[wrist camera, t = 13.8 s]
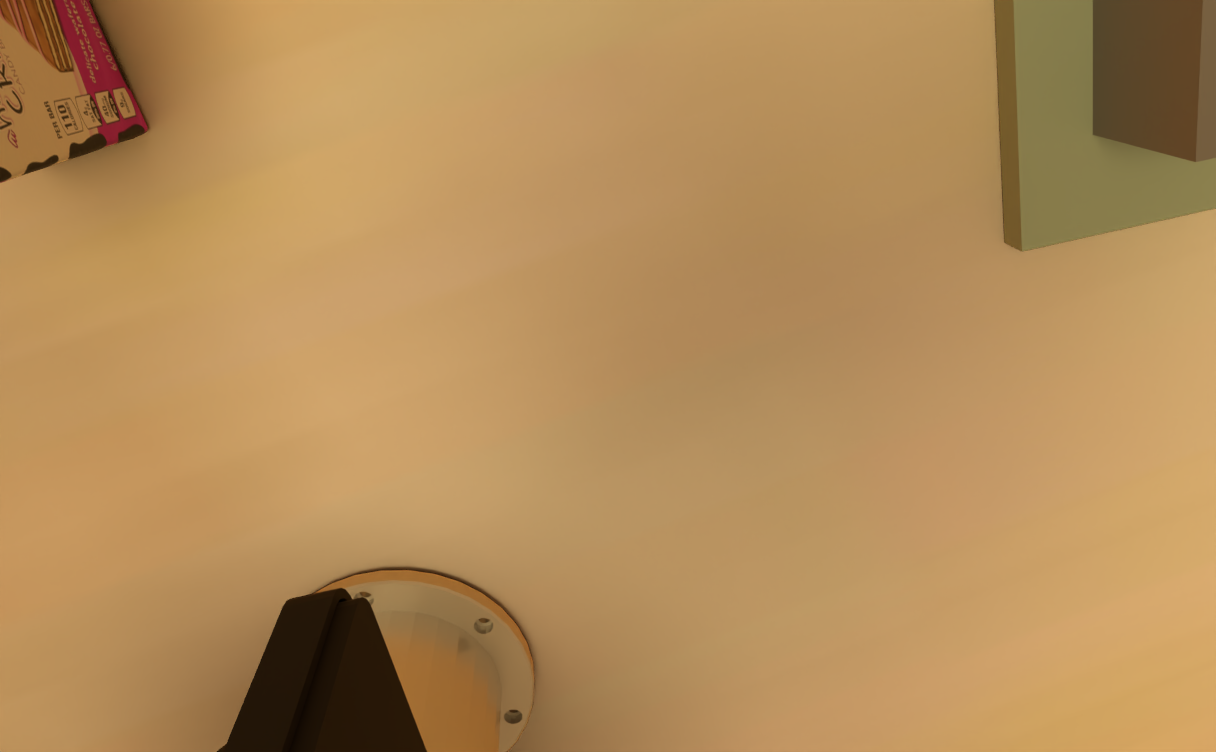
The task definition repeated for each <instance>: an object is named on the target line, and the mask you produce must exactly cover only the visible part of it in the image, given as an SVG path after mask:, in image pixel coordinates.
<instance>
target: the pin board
mask: <svg viewBox="0 0 1216 752" xmlns="http://www.w3.org/2000/svg"><path fill="white" fill-rule="evenodd" d="M994 1H995V25H996V49H997V74H998V98H999V122H1000V146H1001V171H1002V195H1003V219H1004V242H1005V243H1007V244H1009V245H1011V246H1012V247H1014V248H1016V249H1018V250H1020V251H1022V252H1023V251H1027V250H1032V249H1036V248H1041V247H1045V246H1050V245H1054V244H1059V243H1063V242H1068V241H1072V240H1077V239H1081V238H1086V237H1090V236H1095V235H1099V234H1104V233H1108V232H1113V231H1117V230H1122V229H1126V228H1130V227H1135V226H1139V225H1144V224H1148V223H1153V222H1157V221H1162V220H1166V219H1171V218H1175V217H1180V216H1184V215H1189V214H1193V213H1198V212H1202V211H1207V210H1211V209H1216V158H1213V159H1208V160H1204V161H1199V162H1193V161H1189V160H1185V159H1181V158H1178V157H1174V156H1170V155H1166V154H1163V153H1159V152H1155V151H1151V150H1148V149H1144V148H1140V147H1136V146H1133V145H1129V144H1125V143H1121V142H1118V141H1114V140H1110V139H1106V138H1103V137H1099V136H1095V135H1093V0H994Z"/></svg>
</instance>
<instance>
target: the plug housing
mask: <svg viewBox="0 0 1216 752" xmlns="http://www.w3.org/2000/svg"><path fill="white" fill-rule="evenodd" d="M1093 135H1095V136H1099V137H1103V138H1106V139H1110V140H1114V141H1118V142H1121V143H1125V144H1129V145H1133V146H1136V147H1140V148H1144V149H1148V150H1151V151H1155V152H1159V153H1163V154H1166V155H1170V156H1174V157H1178V158H1181V159H1185V160H1189V161H1193V162H1199V161H1204V160H1208V159H1213V158H1216V0H1093Z"/></svg>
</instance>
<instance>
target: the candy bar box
mask: <svg viewBox="0 0 1216 752" xmlns="http://www.w3.org/2000/svg"><path fill="white" fill-rule="evenodd" d="M146 131H147V125H146V123H145V121H144V118H143V116H142V114H141V112H140V109H139V107H138V105H137V103H136V101H135V99H134V97H133V95H132V93H131V90H130V88H129V86H128V84H127V82H126V80H125V77H124V75H123V73H122V70H121V68H120V66H119V64H118V61H117V59H116V57H115V55H114V53H113V51H112V49H111V47H110V45H109V42H108V40H107V38H106V36H105V34H104V32H103V30H102V27H101V25H100V23H99V21H98V19H97V16H96V14H95V12H94V10H93V8H92V6H91V3H90V1H89V0H0V183H2V182H5V181H7V180H10V179H13V178H16V177H19V176H22V175H25V174H28V173H31V172H34V171H37V170H40V169H43V168H46V167H49V166H52V165H55V164H58V163H61V162H64V161H67V160H69V159H72V158H75V157H78V156H82V155H85V154H88V153H90V152H93V151H96V150H99V149H102V148H105V147H108V146H111V145H114V144H117V143H120V142H123V141H126V140H129V139H133V138H135V137H137V136H139V135H142V134H143V133H145V132H146Z"/></svg>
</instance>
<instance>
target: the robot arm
mask: <svg viewBox="0 0 1216 752" xmlns="http://www.w3.org/2000/svg"><path fill="white" fill-rule="evenodd" d="M534 683H535V682H534V666H533V660H532V657H531V654H530V650H529V647H528V644H527V642H526V640H525V638H524V637H523V635H522V633H521V631H520V630H519V628H518V626H517V624H516V623H515V622H514V621H513V620H512V619H511V618H510V617H509V616H508V614H507V613H506V612H505V611H504V610H503V609H502V608H501V607H500V606H499V605H497V604H496V603H495V602H493V601H492V600H491V599H489V598H488V597H487V596H485V595H484V594H483V593H481V592H479V591H477V590H475V589H473V588H471V587H469V586H467V585H465V584H463V583H461V582H459V581H456V580H453V579H449V578H446V577H443V576H440V575H437V574H432V573H425V572H418V571H411V570H381V571H376V572H370V573H364V574H359V575H354V576H351V577H348V578H346V579H343V580H340V581H337V582H334V583H332V584H330V585H328V586H326V587H324V588H323V589H321V590H319V591H317V592H316V593H314V594H310V595H305V596H301V597H296V598H292V599H289V600H287V601H286V603H285V604H284V606H283V608H282V610H281V613H280V615H279V617H278V620H277V622H276V625H275V627H274V630H273V632H272V635H271V637H270V639H269V642H268V644H267V647H266V649H265V652H264V654H263V656H262V659H261V661H260V664H259V666H258V669H257V671H256V673H255V676H254V678H253V681H252V683H251V686H250V688H249V690H248V693H247V695H246V698H245V700H244V703H243V705H242V707H241V710H240V712H239V715H238V717H237V720H236V722H235V724H234V727H233V729H232V732H231V734H230V737H229V739H228V742H227V744H226V745H225V746H223V747H222V748H221V749H219V750H218V751H217V752H508V751H509V750H510V748H511V747H512V746H513V745H514V744H515V743H516V742H517V740H518V739H519V737H520V735H521V734H522V732H523V730H524V728H525V727H526V725H527V723H528V720H529V716H530V713H531V710H532V707H533V700H534Z"/></svg>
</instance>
